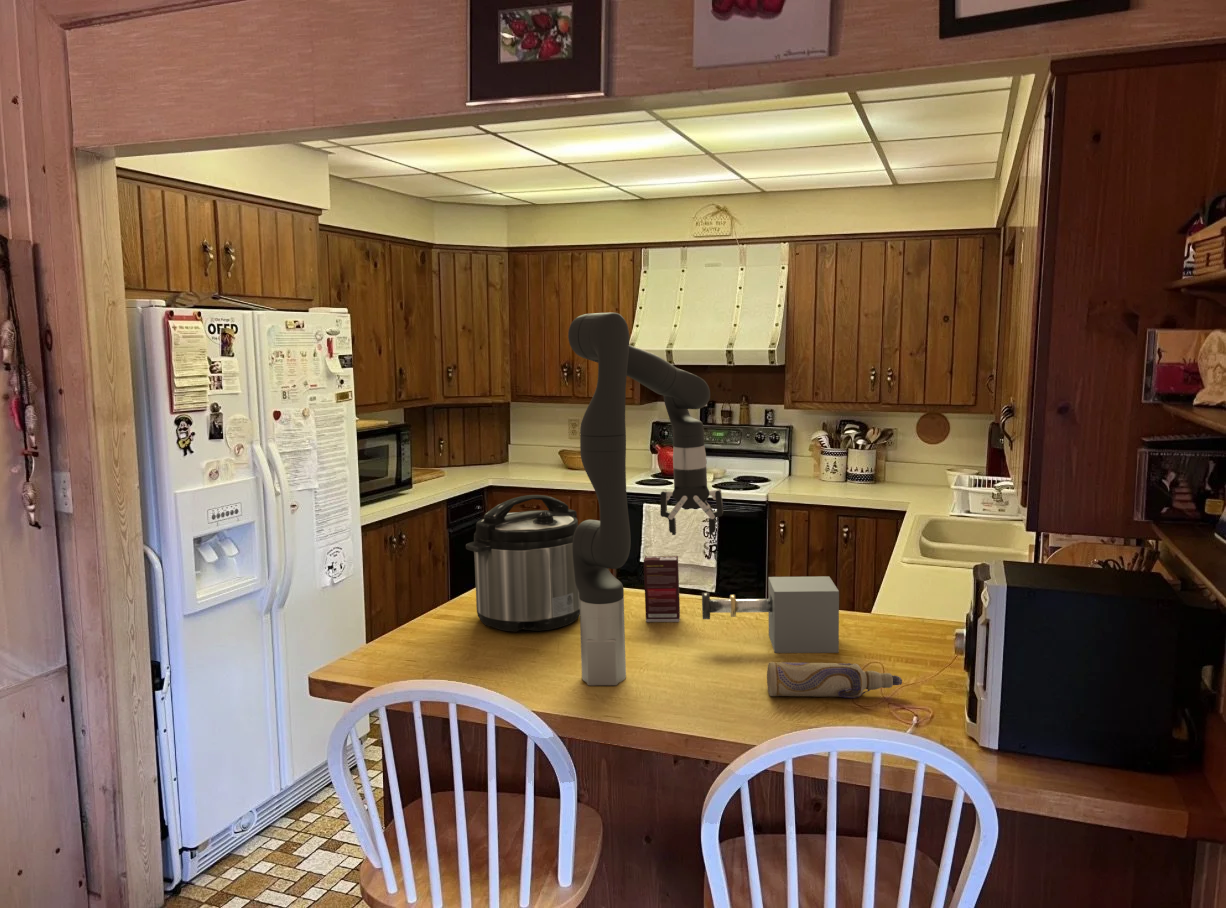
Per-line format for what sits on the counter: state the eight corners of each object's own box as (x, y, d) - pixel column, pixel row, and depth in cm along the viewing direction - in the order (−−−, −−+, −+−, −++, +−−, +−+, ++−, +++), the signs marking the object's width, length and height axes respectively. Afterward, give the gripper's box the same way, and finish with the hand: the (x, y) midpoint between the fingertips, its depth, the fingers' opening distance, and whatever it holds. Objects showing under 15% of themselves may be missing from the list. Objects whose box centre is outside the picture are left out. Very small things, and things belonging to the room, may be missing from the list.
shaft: (795, 622, 200) (795, 596, 199) (703, 622, 201) (702, 597, 200) (791, 614, 206) (791, 588, 205) (702, 614, 207) (701, 589, 206)
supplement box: (680, 616, 225) (679, 555, 223) (679, 622, 220) (678, 560, 218) (646, 616, 226) (644, 555, 224) (644, 622, 221) (643, 560, 219)
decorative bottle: (769, 703, 172) (769, 670, 171) (766, 688, 179) (766, 656, 178) (907, 704, 169) (907, 670, 168) (897, 688, 177) (898, 656, 176)
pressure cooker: (586, 598, 243) (582, 483, 238) (594, 632, 215) (589, 503, 211) (474, 604, 240) (468, 488, 236) (468, 640, 212) (461, 509, 208)
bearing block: (838, 652, 197) (838, 591, 195) (774, 652, 198) (774, 591, 196) (828, 634, 209) (829, 576, 207) (768, 634, 210) (768, 576, 208)
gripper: (656, 469, 201) (660, 538, 203) (720, 467, 198) (722, 538, 201) (660, 463, 208) (664, 530, 211) (722, 461, 205) (724, 529, 208)
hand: (692, 534), depth 206 cm, fingers open, 8 cm apart
